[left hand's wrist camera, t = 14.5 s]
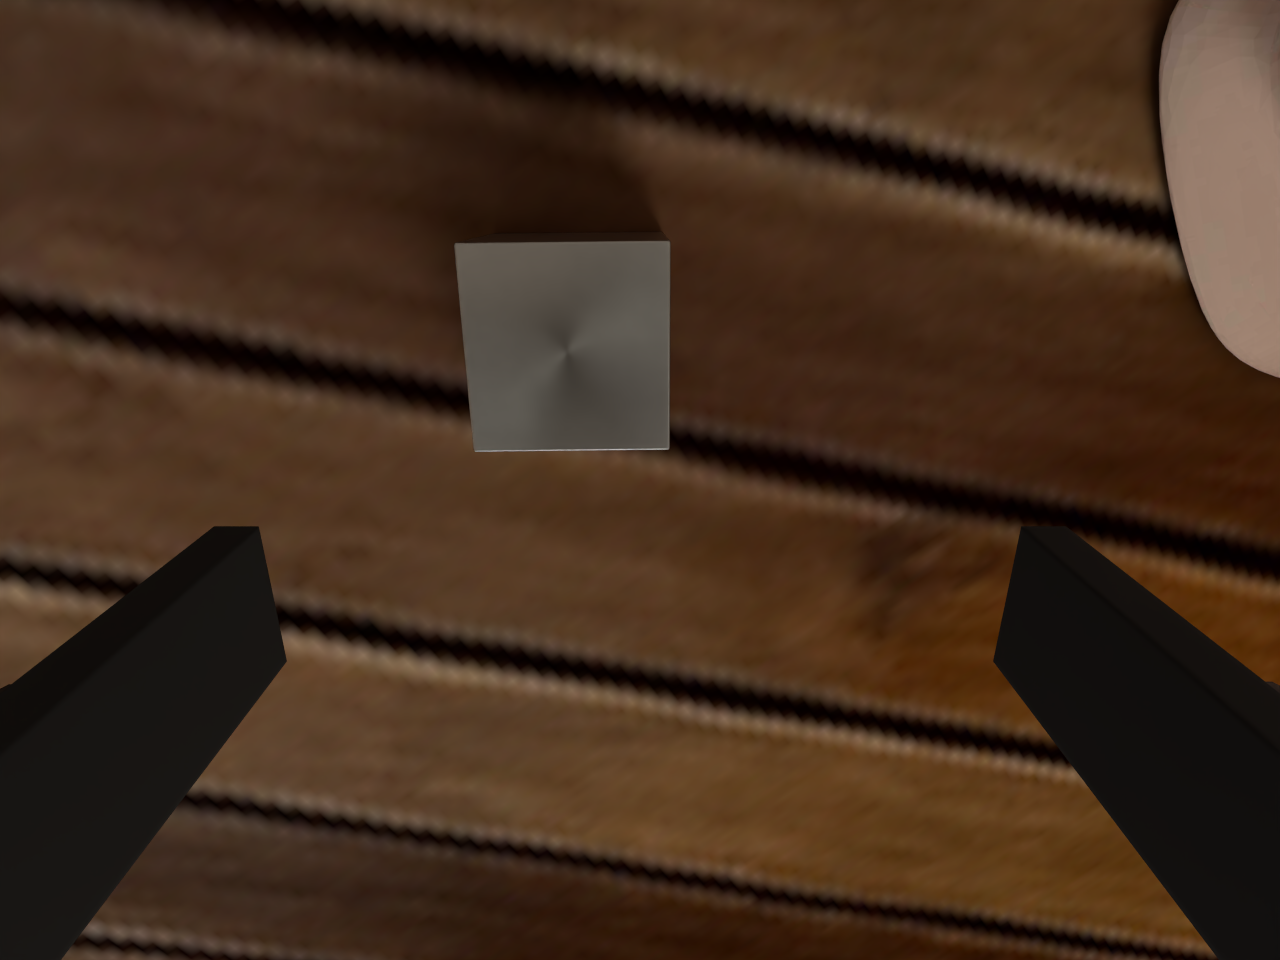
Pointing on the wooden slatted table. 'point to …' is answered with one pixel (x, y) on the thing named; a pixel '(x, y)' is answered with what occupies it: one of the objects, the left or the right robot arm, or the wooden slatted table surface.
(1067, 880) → the wooden slatted table surface
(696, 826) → the wooden slatted table surface
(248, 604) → the left robot arm
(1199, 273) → the anatomical model
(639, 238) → the block
